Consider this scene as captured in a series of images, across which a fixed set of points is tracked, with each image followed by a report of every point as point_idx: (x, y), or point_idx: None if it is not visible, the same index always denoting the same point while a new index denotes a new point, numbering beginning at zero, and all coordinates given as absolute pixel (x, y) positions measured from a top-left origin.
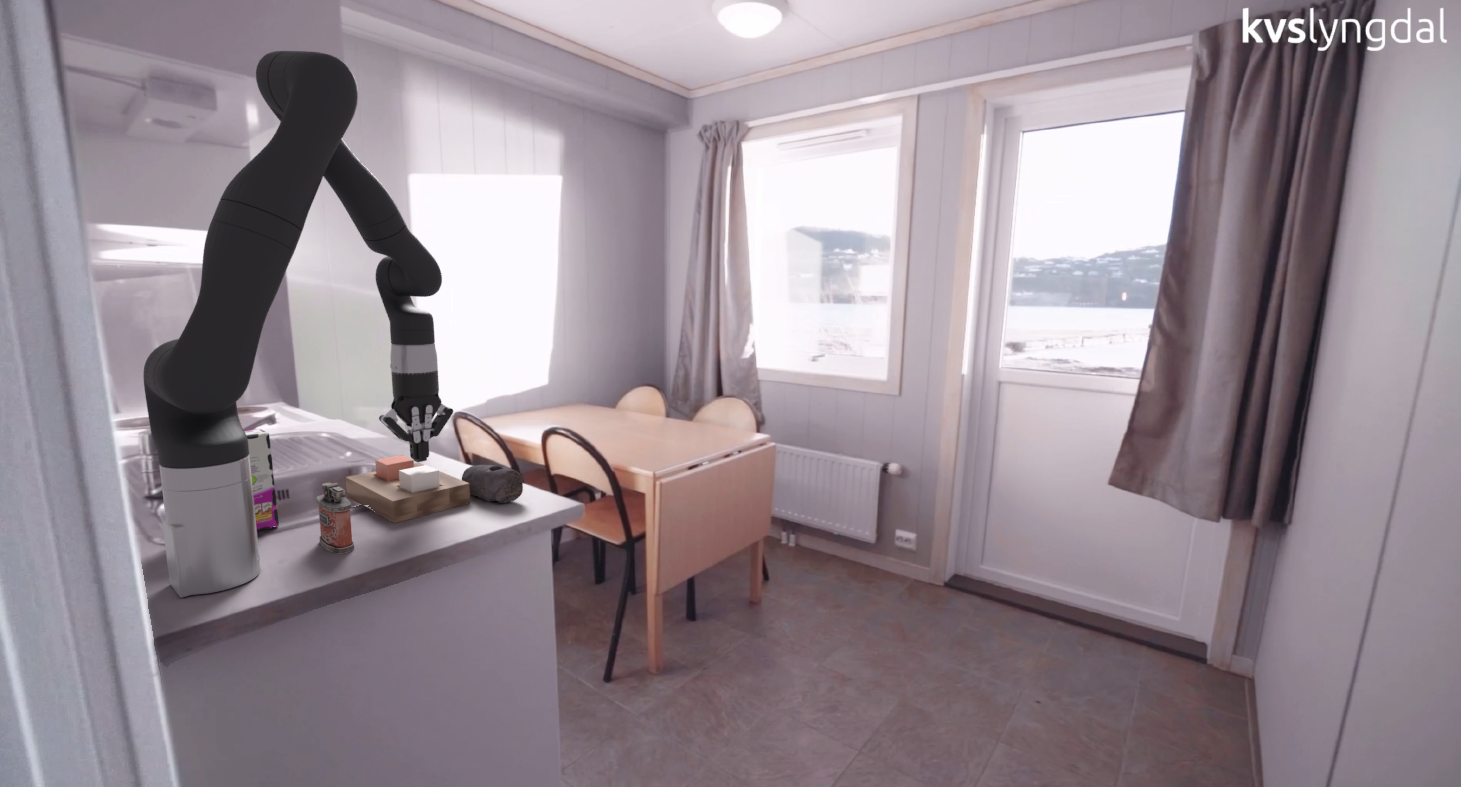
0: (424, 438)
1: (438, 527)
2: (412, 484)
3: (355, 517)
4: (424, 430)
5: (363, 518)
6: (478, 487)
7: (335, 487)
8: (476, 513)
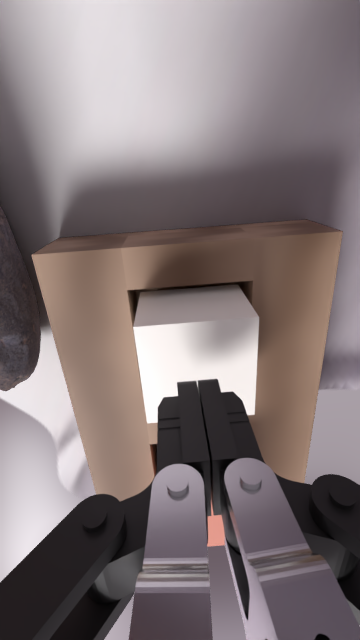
0: (195, 485)
1: (233, 65)
2: (247, 301)
3: (341, 333)
4: (198, 558)
5: (334, 313)
6: (4, 237)
7: None
8: (71, 115)
